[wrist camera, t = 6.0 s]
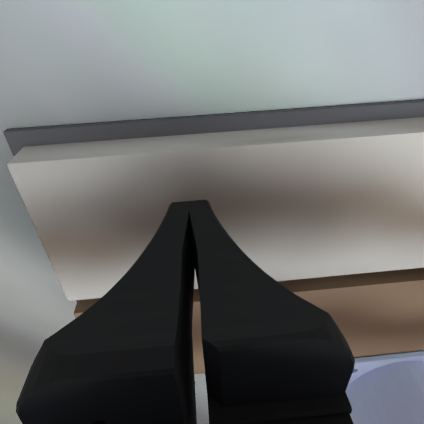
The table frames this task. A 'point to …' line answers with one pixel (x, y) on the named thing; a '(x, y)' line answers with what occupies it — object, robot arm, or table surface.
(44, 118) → the table surface
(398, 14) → the table surface
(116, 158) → the plank
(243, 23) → the table surface
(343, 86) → the table surface
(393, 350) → the laid plank
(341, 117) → the underlay mat
